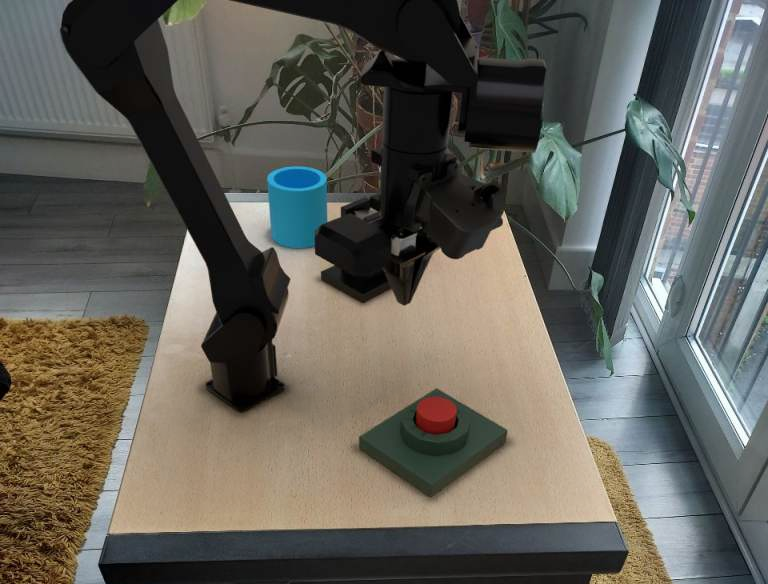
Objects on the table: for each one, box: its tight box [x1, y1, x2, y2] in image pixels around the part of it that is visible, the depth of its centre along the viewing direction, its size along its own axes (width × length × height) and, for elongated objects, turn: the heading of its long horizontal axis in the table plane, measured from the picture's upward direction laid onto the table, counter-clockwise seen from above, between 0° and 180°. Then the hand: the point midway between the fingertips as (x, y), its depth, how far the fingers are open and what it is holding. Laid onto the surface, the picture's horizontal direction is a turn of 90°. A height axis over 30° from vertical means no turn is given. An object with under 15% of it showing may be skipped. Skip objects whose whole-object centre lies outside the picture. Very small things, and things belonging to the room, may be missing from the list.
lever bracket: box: [320, 196, 392, 303], centre depth 102 cm, size 9×8×10 cm
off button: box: [416, 397, 457, 435], centre depth 79 cm, size 4×4×2 cm
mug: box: [266, 165, 328, 249], centre depth 112 cm, size 12×8×8 cm
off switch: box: [358, 388, 509, 498], centre depth 81 cm, size 12×10×4 cm
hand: (403, 303), depth 79 cm, fingers closed
